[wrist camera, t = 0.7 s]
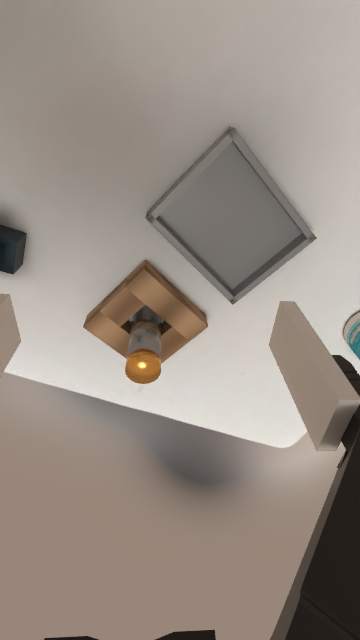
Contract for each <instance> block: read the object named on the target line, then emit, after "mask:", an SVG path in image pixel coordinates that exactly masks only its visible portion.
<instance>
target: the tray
mask: <svg viewBox="0 0 360 640" xmlns="http://www.w3.org/2000/svg"><path fill="white" fill-rule="evenodd" d="M146 220H147V221H148V222H149V223H151V224H152V225H153V226H154V227H155V228H156V229H157V230H158V231H159V232H160V233H161V234H162V235H163V236H164V237H165V238H166V239H167V240H168V241H169V242H170V243H171V244H172V245H173V246H174V247H175V248H176V249H177V250H178V251H179V252H180V253H181V254H182V255H183V256H184V257H185V258H186V259H187V260H188V261H189V262H190V263H191V264H192V265H193V266H194V267H195V268H196V269H197V270H198V271H199V272H200V273H201V274H202V275H203V276H204V277H205V278H206V279H207V280H208V281H209V282H210V283H212V284H213V285H214V286H215V287H216V288H217V289H218V290H219V291H220V292H221V293H222V294H223V295H224V296H225V297H226V298H227V299H228V300H229V301H230V302H231V303H232V304H234V303H236V302H237V301H238V300H239V299H241V298H242V297H243V296H245V295H246V294H247V293H248V292H250V291H251V290H252V289H253V288H255V287H256V286H257V285H258V284H260V283H261V282H262V281H263V280H265V279H266V278H267V277H269V276H270V275H271V274H272V273H274V272H275V271H276V270H277V269H279V268H280V267H281V266H282V265H284V264H285V263H286V262H287V261H289V260H290V259H291V258H293V257H294V256H295V255H296V254H298V253H299V252H300V251H301V250H303V249H304V248H305V247H306V246H308V245H309V244H310V243H312V242H313V241H314V240H315V239H317V238H316V237H315V235H314V234H313V233H312V231H311V230H310V229H309V227H308V226H307V225H306V223H305V222H304V221H303V219H302V218H301V217H300V215H299V214H298V213H297V211H296V210H295V209H294V207H293V206H292V205H291V203H290V202H289V201H288V199H287V198H286V197H285V195H284V194H283V193H282V191H281V190H280V189H279V187H278V186H277V185H276V183H275V182H274V180H273V179H272V178H271V176H270V175H269V174H268V172H267V171H266V170H265V168H264V167H263V166H262V164H261V163H260V162H259V160H258V159H257V158H256V156H255V155H254V154H253V152H252V151H251V150H250V148H249V147H248V146H247V144H246V143H245V142H244V140H243V139H242V138H241V136H240V135H239V134H238V132H237V131H236V130H235V128H232V127H229V129H228V130H227V131H226V132H225V133H224V134H223V135H222V136H221V137H220V138H219V139H218V140H217V141H216V142H215V143H214V144H213V145H212V146H211V147H210V148H209V149H208V150H207V151H206V152H205V153H204V154H203V155H202V156H201V157H200V158H199V159H198V160H197V161H196V163H195V164H194V165H193V166H192V167H191V168H190V169H189V170H188V171H187V172H186V173H185V174H184V175H183V176H182V177H181V178H180V179H179V180H178V181H177V182H176V183H175V184H174V185H173V186H172V187H171V188H170V189H169V190H168V191H167V192H166V193H165V194H164V195H163V197H162V198H161V199H160V200H159V201H158V202H157V203H156V204H155V205H154V206H153V207H152V208H151V209H150V210H149V211H148V212H147V213H146Z"/></svg>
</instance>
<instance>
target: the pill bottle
mask: <svg viewBox="0 0 360 640" xmlns="http://www.w3.org/2000/svg"><path fill="white" fill-rule="evenodd" d="M344 339H345V341H346V343H347V344H348V345H349V347H350V348H351V349H352V351H353V352H354V353H355V354H356V356H357V357H358V358H359V359H360V312H358V313H357V314H355V315H354V316H353V317H352V318H351V319H350V320H349V321H348V323H347V324H346V326H345V329H344Z"/></svg>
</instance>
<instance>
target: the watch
mask: <svg viewBox="0 0 360 640" xmlns="http://www.w3.org/2000/svg"><path fill="white" fill-rule="evenodd" d="M26 234H27V233H24V232H21V231H18V230H15V229H12V228H8V227H5V226H2V225H0V271H3V272H6V273H10V274H14V273H15V272H16V271H17V270H18V269H19V268H20V266H21V265H22V264H23V256H24V249H25V241H26Z"/></svg>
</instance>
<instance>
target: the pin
mask: <svg viewBox="0 0 360 640" xmlns="http://www.w3.org/2000/svg"><path fill="white" fill-rule="evenodd" d="M125 372H126V375H127V376H128V378H129V379H130V380H132V381H134V382H136V383H140V384H147V383H151V382H153V381H155V380H156V379H157V378H158V377H159V376H160V373H161V317H160V316H159V315H158V314H156V313H155V312H154V311H153V310H152V309H150V308H149V307H148V306H147V305H146V304H145V305H144V306H143V307H142V308H141V309H140V310H139V311H137V312H136V313H135V314H134V315H133V318H132V325H131V333H130V340H129V347H128V354H127V361H126V368H125Z"/></svg>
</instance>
